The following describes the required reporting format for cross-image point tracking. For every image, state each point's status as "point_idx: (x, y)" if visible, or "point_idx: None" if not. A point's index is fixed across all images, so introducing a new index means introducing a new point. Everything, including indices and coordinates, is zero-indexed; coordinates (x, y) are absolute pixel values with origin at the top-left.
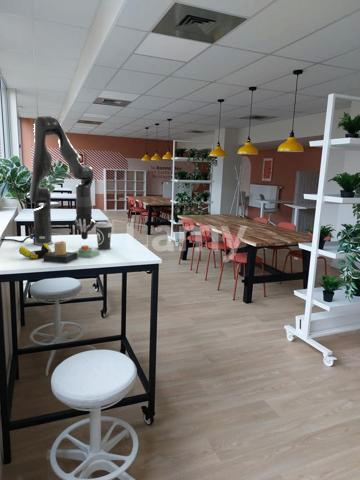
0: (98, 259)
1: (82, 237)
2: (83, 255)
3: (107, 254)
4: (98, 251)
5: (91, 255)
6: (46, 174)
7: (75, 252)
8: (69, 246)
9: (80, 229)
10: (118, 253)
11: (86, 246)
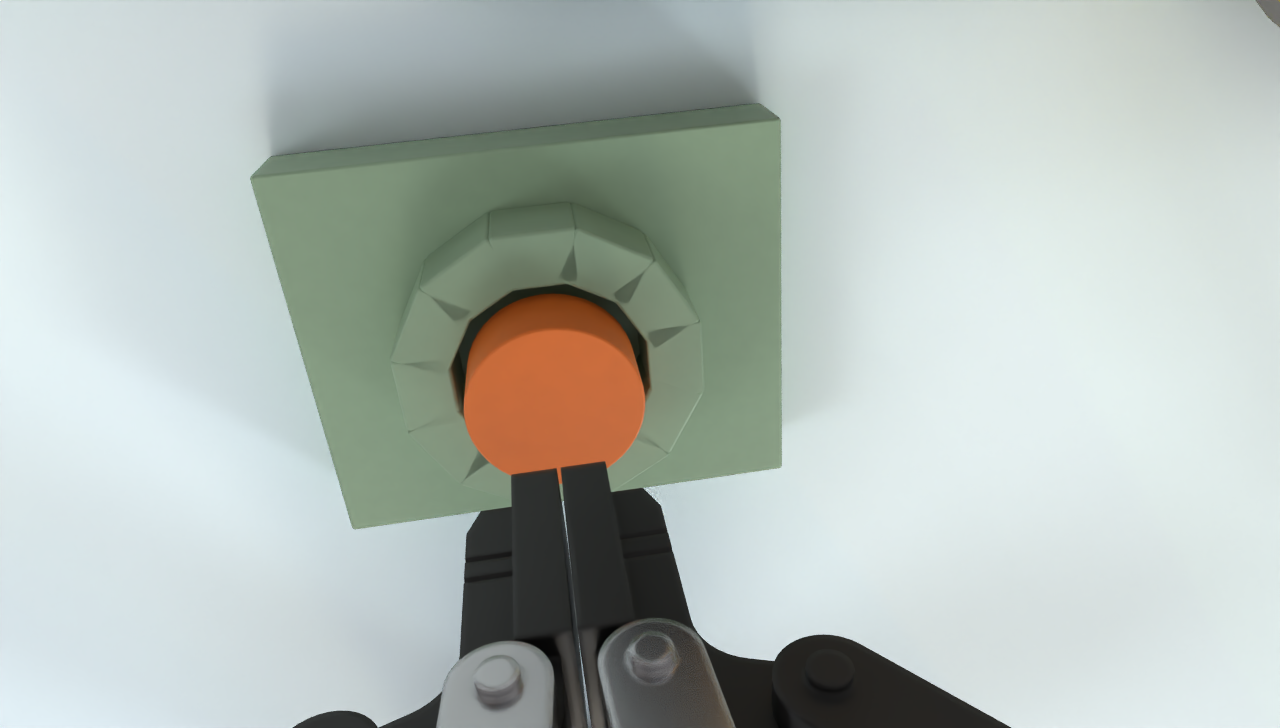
0: (11, 120)
1: (598, 488)
2: (449, 146)
3: (207, 548)
4: (348, 513)
5: (266, 208)
6: None
7: (713, 208)
8: (1140, 668)
9: (750, 718)
10: (93, 684)
11: (485, 385)
